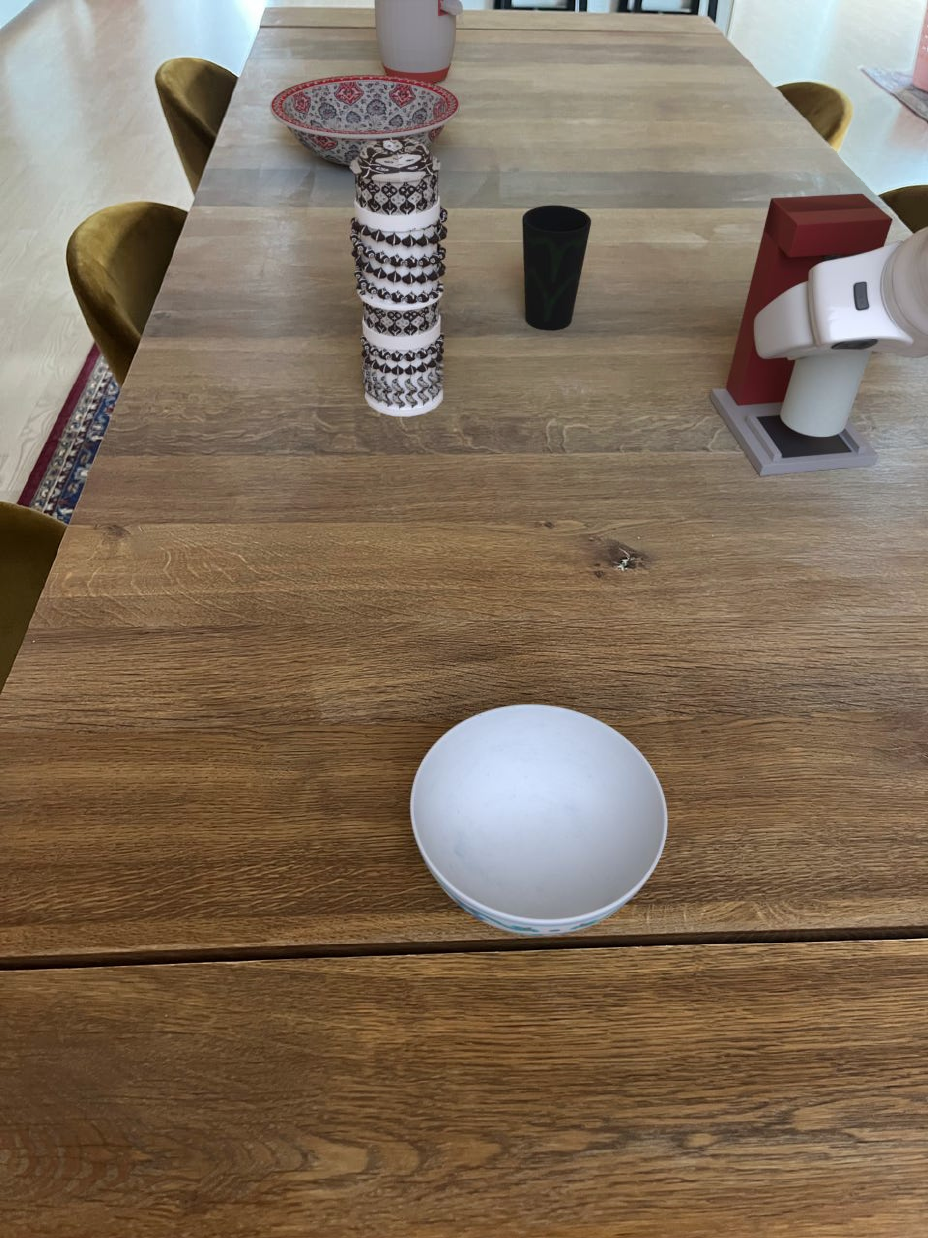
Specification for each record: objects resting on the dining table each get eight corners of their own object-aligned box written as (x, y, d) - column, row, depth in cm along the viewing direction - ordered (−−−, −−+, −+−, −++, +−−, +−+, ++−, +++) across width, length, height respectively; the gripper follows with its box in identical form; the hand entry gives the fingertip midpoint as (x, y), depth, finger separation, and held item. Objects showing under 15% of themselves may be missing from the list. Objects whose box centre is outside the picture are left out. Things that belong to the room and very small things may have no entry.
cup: (548, 341, 109) (556, 238, 101) (503, 317, 113) (508, 216, 105) (593, 320, 113) (605, 220, 104) (548, 298, 117) (556, 199, 108)
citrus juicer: (434, 96, 173) (434, -34, 159) (359, 79, 180) (352, -47, 166) (480, 76, 183) (483, -49, 169) (407, 60, 189) (404, -61, 175)
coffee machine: (874, 465, 93) (956, 256, 78) (759, 476, 91) (821, 264, 76) (814, 390, 102) (877, 192, 88) (709, 398, 101) (755, 198, 86)
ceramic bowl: (495, 167, 148) (497, 112, 142) (331, 206, 136) (327, 148, 131) (398, 116, 165) (396, 64, 159) (245, 146, 153) (238, 92, 147)
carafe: (851, 440, 89) (904, 295, 79) (783, 434, 90) (826, 290, 80) (840, 404, 94) (889, 262, 84) (775, 399, 94) (816, 257, 84)
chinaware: (452, 752, 67) (453, 681, 62) (663, 806, 64) (683, 735, 59) (379, 944, 57) (372, 878, 51) (625, 1017, 54) (645, 956, 48)
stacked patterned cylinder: (454, 415, 98) (455, 162, 80) (365, 422, 97) (347, 167, 79) (441, 370, 104) (440, 126, 87) (357, 376, 103) (339, 131, 85)
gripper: (1039, 248, 75) (931, 307, 89) (797, 263, 72) (724, 321, 86) (1047, 327, 75) (938, 374, 89) (805, 345, 72) (732, 390, 86)
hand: (831, 348), depth 87 cm, fingers closed on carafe, 6 cm apart
